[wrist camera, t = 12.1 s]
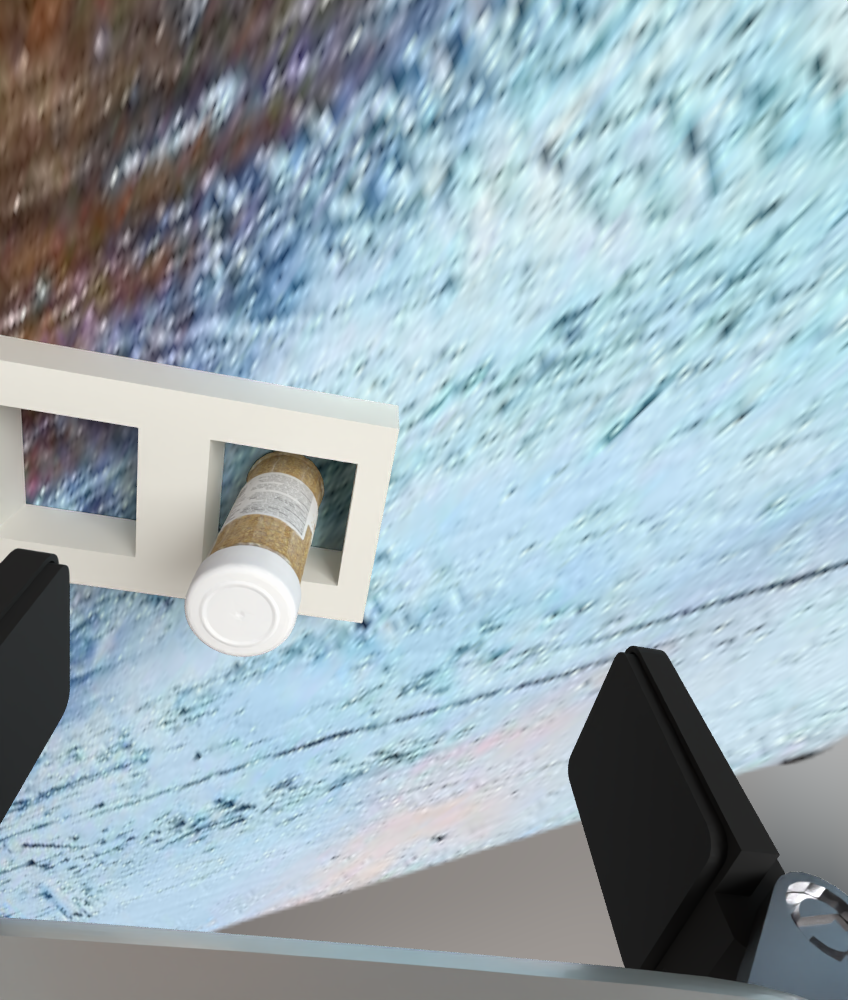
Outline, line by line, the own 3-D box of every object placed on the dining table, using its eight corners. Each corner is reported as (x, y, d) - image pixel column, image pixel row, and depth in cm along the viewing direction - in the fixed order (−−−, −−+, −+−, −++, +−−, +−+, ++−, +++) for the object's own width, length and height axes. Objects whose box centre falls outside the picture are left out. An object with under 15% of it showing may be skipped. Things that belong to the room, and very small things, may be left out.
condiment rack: (-19, 331, 35) (-65, 348, 32) (398, 405, 38) (399, 429, 34) (-4, 532, 40) (-43, 567, 36) (364, 585, 43) (362, 623, 39)
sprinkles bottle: (296, 532, 41) (255, 678, 29) (232, 489, 40) (159, 624, 27) (341, 477, 40) (318, 607, 27) (275, 431, 38) (220, 546, 26)
